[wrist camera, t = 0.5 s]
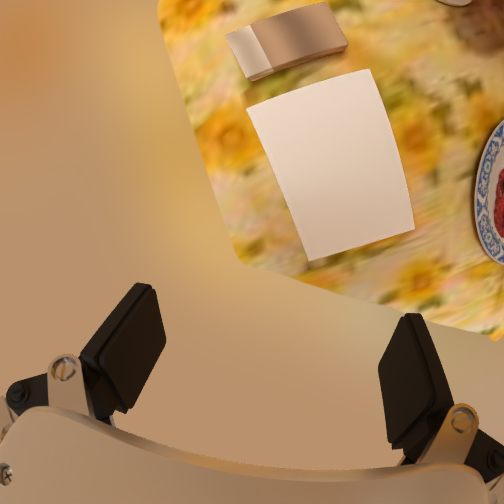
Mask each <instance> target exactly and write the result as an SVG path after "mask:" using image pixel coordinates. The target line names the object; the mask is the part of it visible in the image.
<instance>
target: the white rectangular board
mask: <svg viewBox="0 0 504 504" xmlns="http://www.w3.org/2000/svg"><path fill="white" fill-rule="evenodd" d="M246 110H247V112H248V114H249V116H250V119H251V121H252V123H253V125H254V127H255V130H256V132H257V134H258V136H259V139H260V141H261V143H262V146H263V148H264V150H265V152H266V155H267V157H268V159H269V162H270V164H271V167H272V169H273V171H274V174H275V176H276V179H277V181H278V183H279V186H280V188H281V191H282V193H283V196H284V198H285V201H286V203H287V206H288V208H289V211H290V213H291V216H292V218H293V221H294V224H295V226H296V229H297V231H298V234H299V237H300V239H301V242H302V245H303V247H304V250H305V253H306V255H307V258H308V261H312V260H315V259H319V258H322V257H326V256H329V255H332V254H336V253H339V252H343V251H346V250H349V249H353V248H356V247H359V246H362V245H366V244H369V243H372V242H375V241H379V240H382V239H385V238H388V237H392V236H395V235H398V234H401V233H404V232H407V231H411V230H414V229H415V225H414V219H413V213H412V208H411V203H410V198H409V193H408V188H407V184H406V179H405V175H404V171H403V167H402V163H401V159H400V155H399V152H398V148H397V145H396V141H395V138H394V135H393V132H392V128H391V125H390V122H389V119H388V116H387V113H386V110H385V108H384V105H383V102H382V99H381V97H380V94H379V92H378V89H377V86H376V84H375V81H374V79H373V77H372V74H371V72H370V70H369V69H364V70H360V71H356V72H352V73H348V74H345V75H341V76H337V77H334V78H330V79H327V80H324V81H320V82H317V83H314V84H311V85H308V86H305V87H302V88H299V89H296V90H293V91H290V92H287V93H285V94H282V95H279V96H277V97H274V98H271V99H269V100H266V101H264V102H261V103H259V104H256V105H254V106H251V107H249V108H246Z"/></svg>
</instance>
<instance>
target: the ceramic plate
mask: <svg viewBox="0 0 504 504" xmlns="http://www.w3.org/2000/svg"><path fill="white" fill-rule="evenodd" d="M474 210H475V222H476V227H477V232H478V235H479V238H480V241H481V243H482V246H483V248H484V249H485V251H486V252H487V254H488V255H489V256H490V257H491V258H492V259H493V260H494V261H496V262H497V263H499V264H501V265H504V120H503V121H502V122H500V124H499V125H498V126H497V127H496V128H495V129H494V131H493V133H492V134H491V136H490V138H489V140H488V142H487V144H486V146H485V149H484V151H483V154H482V157H481V160H480V164H479V168H478V172H477V178H476V185H475V196H474Z"/></svg>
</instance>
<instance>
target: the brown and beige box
mask: <svg viewBox="0 0 504 504" xmlns="http://www.w3.org/2000/svg"><path fill="white" fill-rule="evenodd" d="M225 37H226V39H227V40H228V42H229V44H230V46H231V48H232V50H233V52H234V54H235V56H236V58H237V60H238V62H239V64H240V66H241V68H242V70H243V72H244V74H245V76H246V78H247V79H249V80H250V81H252V82H253V81H255V80H258V79H260V78H263V77H265V76H268V75H271V74H273V73H276V72H279V71H281V70H284V69H287V68H290V67H293V66H296V65H299V64H302V63H305V62H308V61H311V60H315V59H318V58H321V57H325V56H328V55H332V54H336V53H340V52H343V51H344V50H345V49H346V47H347V46H348V42H347V40H346V38H345V36H344V34H343V32H342V30H341V28H340V27H339V25H338V23H337V21H336V19H335V17H334V16H333V14H332V12H331V11H330V9H329V7H328V5H327V4H326V2H321V3H317V4H313V5H309V6H305V7H301V8H298V9H295V10H291V11H288V12H285V13H282V14H279V15H276V16H273V17H270V18H267V19H264V20H261V21H259V22H256V23H254V24H251V25H248V26H246V27H244V28H241V29H239V30H236V31H234V32H232V33H229V34H227V35H225Z"/></svg>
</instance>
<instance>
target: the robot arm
mask: <svg viewBox="0 0 504 504" xmlns="http://www.w3.org/2000/svg"><path fill="white" fill-rule="evenodd" d="M438 1H440V2H442V3H445V4H448V5H451V6H464V5H466V4H468V3H470V2H471V1H472V0H438ZM165 344H166V335H165V331H164V327H163V322H162V318H161V314H160V310H159V304H158V300H157V295H156V291H155V289H152V286H151V285H149V284H144V283H136V284H134V286H133V287H132V288H131V289H130V290H129V292H128V293H127V294H126V295H125V296H124V298H123V299H122V300H121V301H120V302H119V304H118V305H117V306H116V307H115V309H114V310H113V311H112V312H111V314H110V315H109V316H108V317H107V319H106V320H105V321H104V323H103V324H102V325H101V326H100V328H99V329H98V330H97V331H96V333H95V334H94V335H93V337H92V338H91V340H90V341H89V342H88V343H87V345H86V346H85V347H84V349H83V350H82V351H81V353H80V354H81V355H80V356H79V357H78V358H77V357H76V356H74V355H72V354H63V355H60V356H58V357H56V358H55V359H54V360H53V361H52V362H51V363H50V365H49V367H48V372H47V373H45V374H41V375H38V376H34V377H32V378H28V379H24V380H20V381H17V382H15V383H13V384H12V385H11V386H10V387H9V389H8V391H7V393H6V398H5V397H4V396H2V397H0V504H504V446H503V445H502V444H500V443H499V442H497V441H496V440H494V439H493V438H491V437H490V436H489V435H487V434H486V433H484V432H483V431H481V430H480V429H478V425H479V418H478V416H477V413H476V411H475V410H474V409H473V408H472V407H471V406H469V405H467V404H464V403H459V404H456V405H454V401H453V398H452V395H451V391H450V388H449V385H448V382H447V379H446V376H445V373H444V370H443V367H442V365H441V362H440V359H439V356H438V354H437V351H436V348H435V346H434V343H433V341H432V338H431V336H430V334H429V331H428V329H427V326H426V324H425V322H424V319H423V317H422V315H421V314H420V313H406V314H405V316H404V317H401V318H400V320H399V322H398V325H397V327H396V329H395V331H394V333H393V336H392V338H391V340H390V342H389V344H388V346H387V348H386V350H385V352H384V354H383V356H382V358H381V360H380V362H379V365H378V373H379V379H380V385H381V392H382V398H383V405H384V412H385V420H386V429H387V438H388V442H389V443H392V450H393V449H402V448H403V452H404V456H403V457H402V459H401V460H400V461H399V463H398V464H397V466H395V467H385V468H373V469H358V470H302V469H301V470H300V469H285V468H275V467H265V466H258V465H251V464H243V463H238V462H232V461H227V460H221V459H217V458H212V457H207V456H203V455H199V454H195V453H191V452H187V451H183V450H179V449H176V448H173V447H169V446H166V445H162V444H159V443H156V442H153V441H150V440H147V439H145V438H142V437H139V436H136V435H133V434H131V433H128V432H125V431H123V430H120V429H118V428H116V426H115V423H114V419H113V416H112V415H113V413H114V411H115V410H117V411H119V412H122V413H124V414H126V413H127V411H128V409H131V408H133V406H134V404H135V402H136V401H137V399H138V396H139V394H140V393H141V391H142V389H143V387H144V385H145V383H146V381H147V379H148V377H149V375H150V373H151V371H152V369H153V367H154V366H155V364H156V362H157V360H158V358H159V356H160V354H161V352H162V350H163V349H164V347H165Z"/></svg>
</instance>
